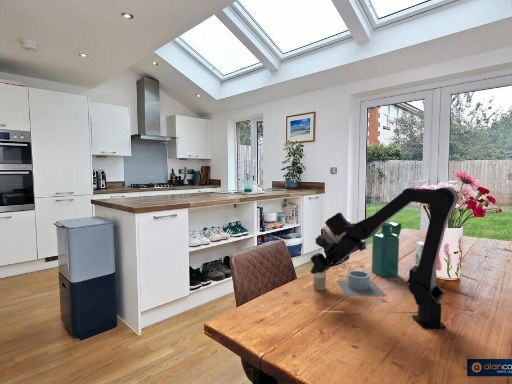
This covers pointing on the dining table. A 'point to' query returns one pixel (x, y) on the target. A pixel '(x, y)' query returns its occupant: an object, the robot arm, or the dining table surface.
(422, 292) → the robot arm
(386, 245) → the green bottle
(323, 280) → the stopper
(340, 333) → the dining table surface
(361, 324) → the dining table surface
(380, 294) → the mat
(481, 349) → the dining table surface
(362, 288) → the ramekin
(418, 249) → the syrup box
